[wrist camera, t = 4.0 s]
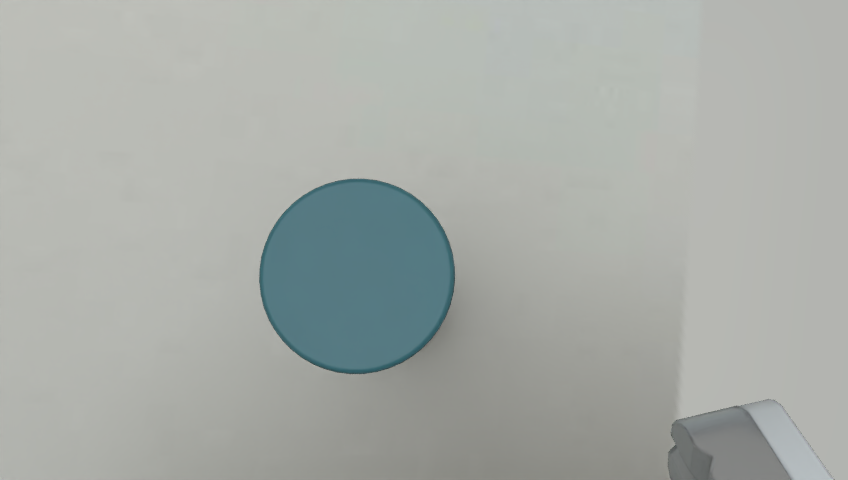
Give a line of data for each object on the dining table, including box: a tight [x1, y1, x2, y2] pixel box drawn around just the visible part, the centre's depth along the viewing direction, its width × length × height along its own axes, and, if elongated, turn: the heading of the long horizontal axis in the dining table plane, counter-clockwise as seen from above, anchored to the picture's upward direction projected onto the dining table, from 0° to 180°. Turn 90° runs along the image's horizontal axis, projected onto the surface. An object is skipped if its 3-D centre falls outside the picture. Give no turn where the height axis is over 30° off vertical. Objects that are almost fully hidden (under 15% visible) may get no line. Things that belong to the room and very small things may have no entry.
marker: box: [259, 179, 455, 374], centre depth 15 cm, size 3×3×13 cm
